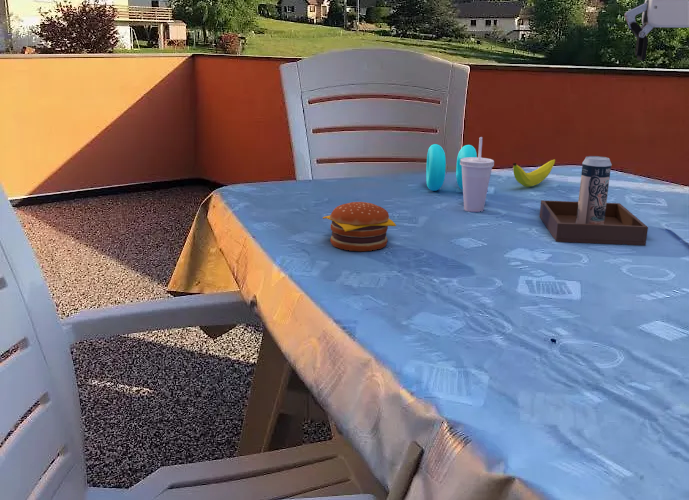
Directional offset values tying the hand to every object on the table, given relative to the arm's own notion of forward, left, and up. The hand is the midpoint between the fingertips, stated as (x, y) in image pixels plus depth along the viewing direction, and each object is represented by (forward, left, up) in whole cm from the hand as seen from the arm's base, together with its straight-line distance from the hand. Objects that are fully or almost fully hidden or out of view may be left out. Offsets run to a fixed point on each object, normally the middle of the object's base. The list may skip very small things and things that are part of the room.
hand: (667, 60), depth 131 cm
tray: (+15, +18, -28) cm, 37 cm away
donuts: (+38, -11, -28) cm, 49 cm away
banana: (+19, -20, -28) cm, 40 cm away
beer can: (+15, +18, -28) cm, 36 cm away
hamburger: (+54, +33, -28) cm, 69 cm away
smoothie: (+34, +6, -28) cm, 45 cm away
